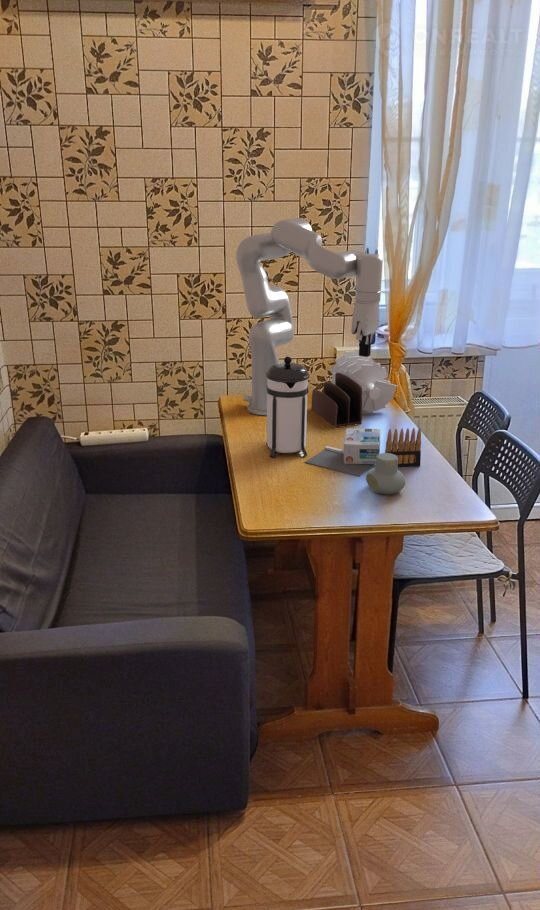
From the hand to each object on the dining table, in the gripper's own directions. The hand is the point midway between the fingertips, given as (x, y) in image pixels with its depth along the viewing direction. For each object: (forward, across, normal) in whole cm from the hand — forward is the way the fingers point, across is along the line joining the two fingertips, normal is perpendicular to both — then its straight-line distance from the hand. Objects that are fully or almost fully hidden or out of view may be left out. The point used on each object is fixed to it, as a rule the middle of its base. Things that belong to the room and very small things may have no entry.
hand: (364, 355), depth 238 cm
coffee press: (+27, +23, -14) cm, 38 cm away
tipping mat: (+27, +22, +5) cm, 35 cm away
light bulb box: (+22, +11, +6) cm, 26 cm away
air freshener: (+27, +32, +24) cm, 48 cm away
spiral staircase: (+27, -30, -15) cm, 43 cm away
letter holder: (+28, -13, -16) cm, 34 cm away
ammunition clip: (+27, +14, +21) cm, 37 cm away
